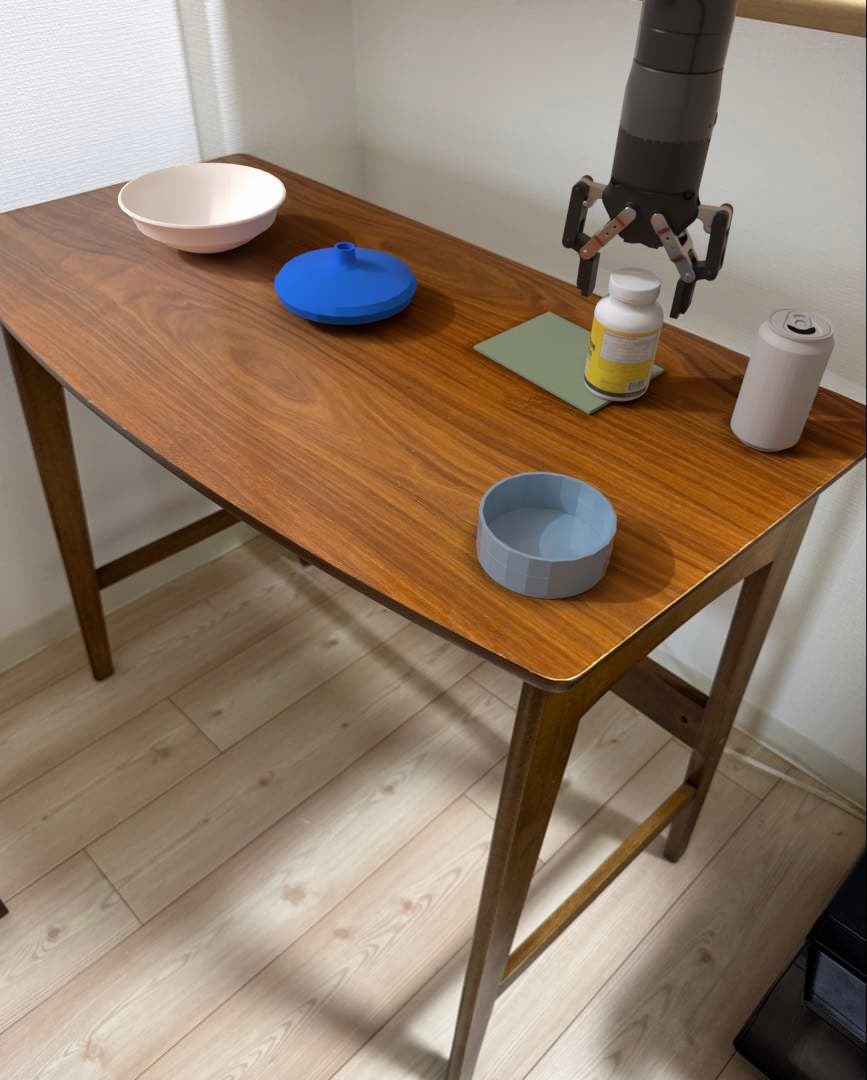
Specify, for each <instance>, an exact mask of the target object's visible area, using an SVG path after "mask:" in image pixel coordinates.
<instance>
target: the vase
mask: <svg viewBox="0 0 867 1080" xmlns="http://www.w3.org/2000/svg"><path fill="white" fill-rule="evenodd" d="M417 283H418V282H417V277H416V275H414V273H413V271H412V270H411V269H410V268H409V266H408V265H407V264H406V263H405V262H403V261H402V260H401V259H399V258H398V257H396V256H394V255H391V254H389V253H387V252H384V251H380V250H376V249H372V248H365V247H357V246H356V245H355V244H354V243H352V242H348V241H342V242H337V243H336V244H334V247H325V248H320V249H316V250H310V251H306V252H304V253H302V254H300V255H297V256H295V257H293V258H292V259H290V260H289V261H287V262H286V263H285V264H284V265H283V267H282V268H281V269H280V270H279V272H278V273H277V274H276V275H275V277H274V283H273V284H274V285H273V288H274V289H275V292H276V294H277V296H278V299H279V301H280V303H281V305H283V306H284V308H286V310H288V311H289V312H291V313H293V314H294V315H295V316H296V315H297V316H298V317H300V318H303V319H306V320H310V321H314V322H317V323H321V324H327V325H328V324H329V325H334V326H335V325H336V326H355V325H364V324H369V323H374V322H379V321H381V320H385V319H388V318H391V317H392V316H395V315H396V314H399V313H400V312H402V311H403V310H404V309H406V308H407V307H408V306H409V305H410V304H411V301H412V299H413V298H414V295H415V293H416V290H417V286H418V284H417Z"/></svg>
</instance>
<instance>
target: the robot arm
mask: <svg viewBox="0 0 867 1080" xmlns="http://www.w3.org/2000/svg"><path fill="white" fill-rule="evenodd" d="M641 1H642V2H641V9H640V10H641V11H640V16H639V22H638V28H637V34H636V41H635V47H634V53H633V58H632V63H631V67H630V71H629V74H628V78H627V81H626V85H625V89H624V94H623V99H622V106H621V113H620V117H619V118H620V119H619V125H618V131H617V137H616V143H615V148H614V155H613V161H612V168H611V174H610V179H609V182H608V184H604V183H601V182H597V181H594V178H593V177H592V175H589V174H584V175H583V176H582V177H581V178H579V180H578V181H577V182H576V183H575V184H574V185H572V188H571V192H570V197H569V202H568V208H567V213H566V219H565V221H564V228H563V233H562V238H561V245H562V246H563V248H565V249H567V250H568V249H569V250H570V249H571V250H573V251H575V252H576V253H577V254H578V257H579V261H578V262H579V264H578V268H577V276H576V283H575V284H576V288H577V290H580V296H581V297H584V298H589V297H590V296H591V295H592V294H593V292H594V291H595V288H596V283H597V277H598V271H599V265H600V258H601V252H599V251H600V250H601V249H602V248H603V247H605V246H606V245H607V244H608V243H610V241H612V240H613V239H614V238H616V236H617V235H618V236H619V237H620V239H622V240H623V243H626V244H632V245H634V244H636V245H637V244H641V245H643V246H644V247H647V248H649V249H654V250H658V249H659V248H664V250H665V252H666V254H667V257H668V258H669V260H670V262H672V263H673V264H674V266H675V268H676V270H677V272H678V274H679V276H680V277H679V278H678V280H677V282H676V285H675V290H674V294H673V299H672V304H671V308H670V312H669V316H668V317H669V318H670V319H675V320H678V318H679V317H680V315H685V314H686V312H687V311H688V309H689V308H690V306H691V304H692V301H693V297H694V293H695V288H696V285H697V282H699V281H702V280H705V281H708V282H711V281H715V280H716V279H717V277H718V275H719V273H720V271H721V269H722V268H723V265H724V260H725V257H726V251H727V246H728V241H729V234H730V230H731V227H732V221H733V215H734V207H733V205H732V204H731V203H728V202H725V203H723V204H721V205H720V206H717V205H716V206H715V205H709V204H702V203H701V200H700V188H701V183H702V179H703V175H704V171H705V165H706V162H707V157H708V154H709V153H708V152H709V149H710V144H711V140H712V136H713V132H714V128H715V126H716V124H717V121H718V115H719V112H718V111H719V110H718V109H719V105H720V102H721V101H720V99H721V95H722V94H721V93H722V83H723V75H724V69H725V64H726V60H727V57H728V56H727V55H728V51H729V46H730V43H731V39H732V33H733V28H734V24H735V21H736V16H737V11H738V5H739V0H641ZM600 199H601V203H602V204H603V207H604V209H605V212H606V213H607V215H608V217H609V220H608V221H606V222H605V224H603V225H602V226H601V227H600V229H598V230H597V231H596V232H595V233H594V234H592V235H591V236H590V235H588V234H587V233H585V232H584V230H585V226H586V221H587V216H588V211H589V209H591V208H592V207H593V206H594V205H595V204H596V202H597V201H598V200H600ZM696 220H699V221H701V223H702V228H703V231H704V232H705V233H706V234H708V235H709V239H708V244H707V249H706V255H705V260H704V259H703V260H700V258H699V256H698V254H697V252H696V249H695V248H694V241H693V239H692V236H691V234H690V231H689V230H688V228H689V227H690V226H691V225H692V224H693V223H694V222H695V221H696Z"/></svg>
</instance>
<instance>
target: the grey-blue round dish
mask: <svg viewBox="0 0 867 1080" xmlns="http://www.w3.org/2000/svg"><path fill="white" fill-rule="evenodd" d="M617 523H618V517H617V514H616V512H615V509H614V507H613V505H612V503H611V501H610V500H609V499H608V498H607V497H606V496H605V495H604V494H603V493H602V492H601V491H600V490H599V489H597V488H595V487H594V486H593V485H590V484H589V483H587V482H586V481H584V480H582V479H578V478H576V477H572V476H569V475H567V474H564V473H557V472H556V473H555V472H551V471H550V472H549V471H530V472H529V471H528V472H527V471H526V472H521V473H517V474H514V475H510V476H507V477H504V478H502V479H501V480H499V481H498V482H496V483H494V484H493V485H491V486H490V487H489V488H488V489H487V491H486V492H485V493H484V494H483V496H482V497H481V499H480V506H479V509H478V516H477V529H476V539H475V547H476V557H477V559H478V561H479V564H480V565H481V567H482V569H483V570H484V572H485V573H486V574H487V576H489V578H491V579H492V580H494V582H496V583H497V584H498V585H500V586H502V587H504V588H505V589H507V590H510V591H511V592H514V593H517V594H519V595H523V596H526V597H529V598H530V597H531V598H536V599H544V600H547V599H548V600H553V599H554V600H556V599H565V598H570V597H574V596H577V595H580V594H583V593H584V592H585V593H586V592H587V591H589V590H590V589H592V588H593V587H595V586H596V585H597V584H598V583H599V582H600V581H601V580H602V578H603V577H604V576H605V574H606V572H607V569H608V566H609V565H610V560H611V556H612V551H613V547H614V544H615V543H614V542H615V538H616V534H617Z"/></svg>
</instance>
